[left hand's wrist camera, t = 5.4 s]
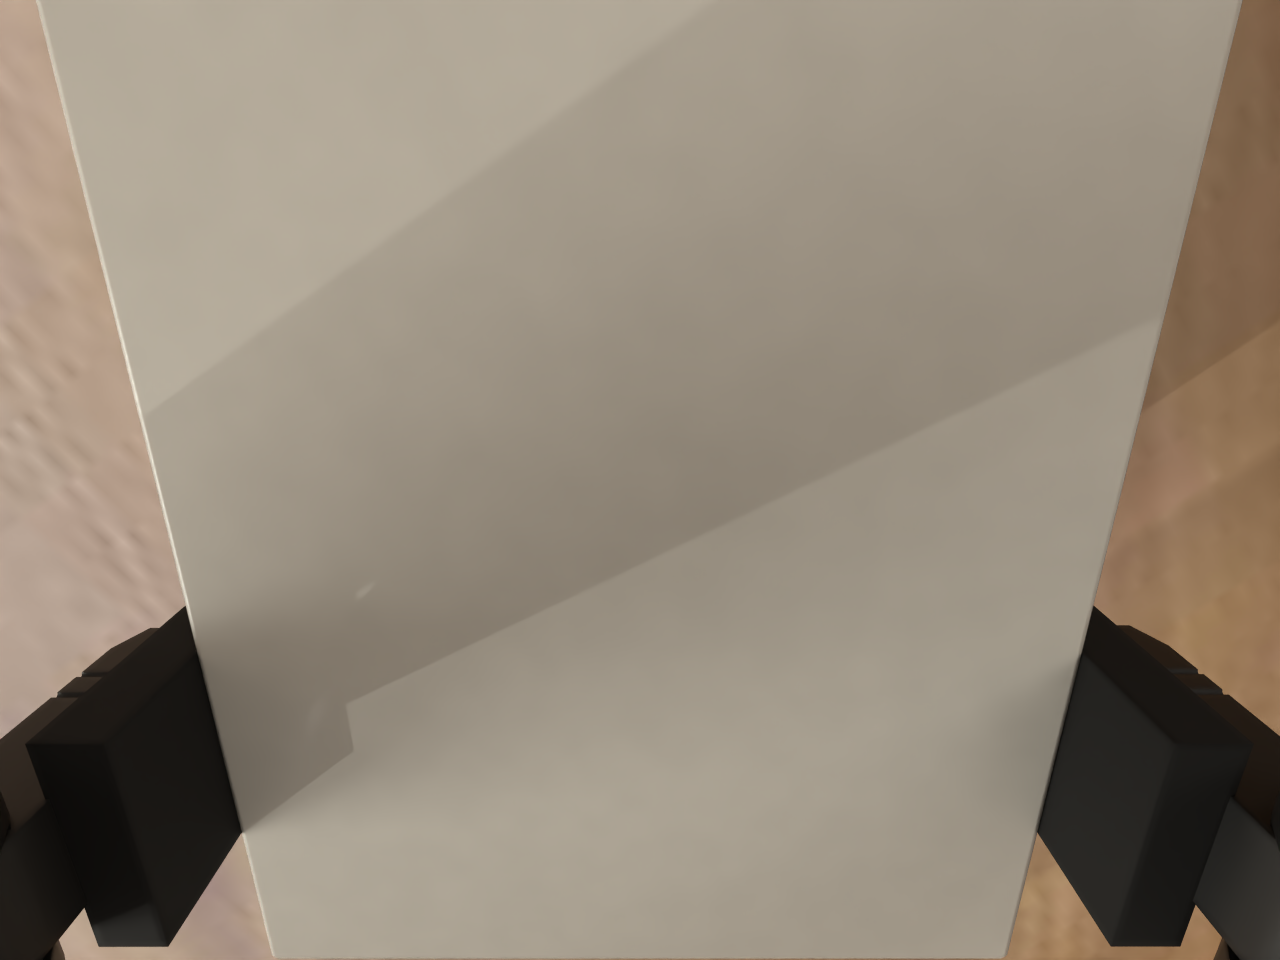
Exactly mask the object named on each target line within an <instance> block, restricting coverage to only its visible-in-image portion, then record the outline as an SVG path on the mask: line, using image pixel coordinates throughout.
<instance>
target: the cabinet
mask: <svg viewBox="0 0 1280 960" xmlns="http://www.w3.org/2000/svg"><path fill="white" fill-rule="evenodd" d="M1242 1H1243V0H36V2H37V6H38V10H39V14H40V19H41V23H42V27H43V31H44V35H45V39H46V43H47V47H48V51H49V55H50V59H51V63H52V67H53V71H54V75H55V79H56V83H57V87H58V91H59V95H60V99H61V103H62V107H63V112H64V116H65V120H66V124H67V128H68V132H69V136H70V140H71V144H72V148H73V152H74V156H75V160H76V164H77V168H78V172H79V176H80V180H81V184H82V188H83V192H84V196H85V200H86V205H87V209H88V213H89V217H90V221H91V225H92V229H93V233H94V237H95V241H96V245H97V249H98V253H99V257H100V261H101V265H102V269H103V273H104V277H105V281H106V285H107V289H108V293H109V297H110V302H111V306H112V310H113V314H114V318H115V322H116V326H117V330H118V334H119V338H120V342H121V346H122V350H123V354H124V358H125V362H126V366H127V370H128V374H129V378H130V382H131V386H132V390H133V395H134V399H135V403H136V407H137V411H138V415H139V419H140V423H141V427H142V431H143V435H144V439H145V443H146V447H147V451H148V455H149V459H150V463H151V467H152V471H153V475H154V479H155V483H156V488H157V492H158V496H159V500H160V504H161V508H162V512H163V516H164V520H165V524H166V528H167V532H168V536H169V540H170V544H171V548H172V552H173V556H174V560H175V564H176V568H177V572H178V576H179V580H180V585H181V589H182V593H183V597H184V601H185V605H186V609H187V613H188V617H189V621H190V625H191V629H192V633H193V637H194V641H195V645H196V649H197V653H198V657H199V661H200V665H201V669H202V673H203V678H204V682H205V686H206V690H207V694H208V698H209V702H210V706H211V710H212V714H213V718H214V722H215V726H216V730H217V734H218V738H219V742H220V746H221V750H222V754H223V758H224V762H225V766H226V771H227V775H228V779H229V783H230V787H231V791H232V795H233V799H234V803H235V807H236V811H237V815H238V819H239V823H240V827H241V831H242V835H243V839H244V843H245V847H246V851H247V855H248V859H249V863H250V868H251V872H252V876H253V880H254V884H255V888H256V892H257V896H258V900H259V904H260V908H261V912H262V916H263V920H264V924H265V928H266V932H267V936H268V940H269V944H270V948H271V952H272V955H273V956H274V957H276V958H1003V957H1005V956H1006V955H1007V953H1008V949H1009V945H1010V941H1011V937H1012V933H1013V929H1014V924H1015V920H1016V916H1017V912H1018V908H1019V904H1020V900H1021V896H1022V892H1023V888H1024V884H1025V880H1026V876H1027V872H1028V868H1029V864H1030V860H1031V856H1032V852H1033V847H1034V843H1035V839H1036V835H1037V831H1038V827H1039V823H1040V819H1041V815H1042V811H1043V807H1044V803H1045V799H1046V795H1047V791H1048V787H1049V783H1050V779H1051V775H1052V771H1053V766H1054V762H1055V758H1056V754H1057V750H1058V746H1059V742H1060V738H1061V734H1062V730H1063V726H1064V722H1065V718H1066V714H1067V710H1068V706H1069V702H1070V698H1071V694H1072V689H1073V685H1074V681H1075V677H1076V673H1077V669H1078V665H1079V661H1080V657H1081V653H1082V649H1083V645H1084V641H1085V637H1086V633H1087V629H1088V625H1089V621H1090V617H1091V612H1092V608H1093V604H1094V600H1095V596H1096V592H1097V588H1098V584H1099V580H1100V576H1101V572H1102V568H1103V564H1104V560H1105V556H1106V552H1107V548H1108V544H1109V540H1110V536H1111V531H1112V527H1113V523H1114V519H1115V515H1116V511H1117V507H1118V503H1119V499H1120V495H1121V491H1122V487H1123V483H1124V479H1125V475H1126V471H1127V467H1128V463H1129V459H1130V454H1131V450H1132V446H1133V442H1134V438H1135V434H1136V430H1137V426H1138V422H1139V418H1140V414H1141V410H1142V406H1143V402H1144V398H1145V394H1146V390H1147V386H1148V382H1149V378H1150V373H1151V369H1152V365H1153V361H1154V357H1155V353H1156V349H1157V345H1158V341H1159V337H1160V333H1161V329H1162V325H1163V321H1164V317H1165V313H1166V309H1167V305H1168V301H1169V296H1170V292H1171V288H1172V284H1173V280H1174V276H1175V272H1176V268H1177V264H1178V260H1179V256H1180V252H1181V248H1182V244H1183V240H1184V236H1185V232H1186V228H1187V224H1188V220H1189V215H1190V211H1191V207H1192V203H1193V199H1194V195H1195V191H1196V187H1197V183H1198V179H1199V175H1200V171H1201V167H1202V163H1203V159H1204V155H1205V151H1206V147H1207V143H1208V138H1209V134H1210V130H1211V126H1212V122H1213V118H1214V114H1215V110H1216V106H1217V102H1218V98H1219V94H1220V90H1221V86H1222V82H1223V78H1224V74H1225V70H1226V66H1227V61H1228V57H1229V53H1230V49H1231V45H1232V41H1233V37H1234V33H1235V29H1236V25H1237V21H1238V17H1239V13H1240V9H1241V5H1242Z"/></svg>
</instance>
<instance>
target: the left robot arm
mask: <svg viewBox="0 0 1280 960" xmlns="http://www.w3.org/2000/svg"><path fill="white" fill-rule="evenodd" d="M1037 832H1038V834H1039V835H1040V837H1041V839H1042V840H1043V842H1044V843H1045V845H1046V846H1047V848H1048V849H1049V851H1050V853H1051V854H1052V856H1053V857H1054V859H1055V860H1056V862H1057V863H1058V865H1059V867H1060V868H1061V870H1062V871H1063V873H1064V874H1065V876H1066V877H1067V879H1068V881H1069V882H1070V884H1071V885H1072V887H1073V888H1074V890H1075V891H1076V893H1077V895H1078V896H1079V898H1080V899H1081V901H1082V902H1083V904H1084V905H1085V907H1086V909H1087V910H1088V912H1089V913H1090V915H1091V916H1092V918H1093V919H1094V921H1095V922H1096V924H1097V926H1098V927H1099V929H1100V930H1101V932H1102V933H1103V935H1104V936H1105V938H1106V940H1107V941H1108V943H1109V944H1110V946H1181V943H1182V940H1183V938H1184V935H1185V932H1186V929H1187V927H1188V924H1189V921H1190V918H1191V916H1192V913H1193V910H1194V907H1195V905H1197V907H1198V908H1199V909H1200V910H1201V912H1202V913H1203V914H1204V915H1205V917H1206V918H1207V919H1208V920H1209V922H1210V923H1211V924H1212V925H1213V927H1214V928H1215V929H1216V930H1217V932H1218V933H1219V934H1220V935H1221V937H1222V940H1221V942H1220V945H1219V947H1218V950H1217V952H1216V955H1215V957H1214V960H1280V736H1279V735H1278V734H1276V733H1275V732H1274V731H1273V730H1271V729H1270V728H1269V727H1268V726H1267V725H1265V724H1264V723H1263V722H1262V721H1260V720H1259V719H1258V718H1257V717H1255V716H1254V715H1253V714H1252V713H1251V712H1249V711H1248V710H1247V709H1246V708H1244V707H1243V706H1242V705H1241V704H1240V703H1238V702H1237V701H1236V700H1235V699H1233V698H1232V697H1231V696H1230V695H1223V693H1222V689H1221V688H1220V687H1219V686H1217V685H1216V684H1215V683H1214V682H1213V681H1211V680H1210V679H1209V678H1208V677H1206V676H1205V675H1204V674H1198V669H1197V668H1195V667H1194V666H1193V665H1192V664H1190V663H1189V662H1188V661H1187V660H1186V659H1184V658H1183V657H1182V656H1181V655H1179V654H1178V653H1177V652H1176V651H1174V650H1173V649H1172V648H1171V647H1170V646H1168V645H1166V644H1164V643H1162V642H1160V641H1159V640H1157V639H1155V638H1153V637H1151V636H1149V635H1147V634H1145V633H1143V632H1141V631H1139V630H1137V629H1135V628H1133V627H1131V626H1129V625H1115V624H1114V623H1113V622H1112V621H1111V620H1110V619H1109V618H1107V617H1106V616H1105V615H1104V614H1103V613H1102V612H1100V611H1099V610H1098V609H1097V608H1096V607H1095V606H1093V608H1092V612H1091V617H1090V621H1089V625H1088V629H1087V633H1086V637H1085V641H1084V645H1083V649H1082V653H1081V657H1080V661H1079V665H1078V669H1077V673H1076V677H1075V681H1074V685H1073V689H1072V694H1071V698H1070V702H1069V706H1068V710H1067V714H1066V718H1065V722H1064V726H1063V730H1062V734H1061V738H1060V742H1059V746H1058V750H1057V754H1056V758H1055V762H1054V766H1053V771H1052V775H1051V779H1050V783H1049V787H1048V791H1047V795H1046V799H1045V803H1044V807H1043V811H1042V815H1041V819H1040V823H1039V827H1038V831H1037ZM241 833H242V831H241V827H240V823H239V819H238V815H237V811H236V807H235V803H234V799H233V795H232V791H231V787H230V783H229V779H228V775H227V771H226V766H225V762H224V758H223V754H222V750H221V746H220V742H219V738H218V734H217V730H216V726H215V722H214V718H213V714H212V710H211V706H210V702H209V698H208V694H207V690H206V686H205V682H204V678H203V673H202V669H201V665H200V661H199V657H198V653H197V649H196V645H195V641H194V637H193V633H192V629H191V625H190V621H189V617H188V613H187V609H186V606H185V607H183V608H182V609H181V610H180V611H179V612H178V613H176V614H175V615H174V616H173V617H172V618H171V619H169V620H168V621H167V622H166V623H165V624H164V625H163V626H161V627H160V628H150V629H148V630H146V631H144V632H142V633H140V634H138V635H136V636H134V637H132V638H130V639H128V640H126V641H124V642H123V643H121V644H119V645H117V646H115V647H113V648H111V649H110V650H109V651H107V652H106V653H105V654H104V655H103V656H101V657H100V658H99V659H98V660H96V661H95V662H94V663H93V664H92V665H90V666H89V667H88V668H87V669H86V670H84V671H83V672H82V676H81V677H76V678H75V679H73V680H72V681H71V682H70V683H68V684H67V685H66V686H65V687H64V688H62V689H61V690H60V691H59V692H58V695H57V697H56V698H50V699H49V700H48V701H47V702H45V703H44V704H43V705H42V706H40V707H39V708H38V709H37V710H36V711H34V712H33V713H32V714H31V715H29V716H28V717H27V718H26V719H25V720H23V721H22V722H21V723H20V724H19V725H17V726H16V727H15V728H14V729H12V730H11V731H10V732H9V733H8V734H6V735H5V736H4V737H3V738H1V739H0V960H65V956H64V952H63V950H62V947H61V945H60V942H59V939H60V937H61V936H62V935H63V934H64V932H65V931H66V930H67V929H68V927H69V926H70V925H71V924H72V922H73V921H74V920H75V919H76V917H77V916H78V915H79V914H80V912H81V911H82V910H83V909H84V908H85V910H86V913H87V916H88V918H89V921H90V924H91V927H92V929H93V932H94V935H95V938H96V940H97V943H98V946H99V947H168V946H169V945H170V943H171V941H172V940H173V938H174V937H175V935H176V934H177V932H178V931H179V929H180V927H181V926H182V924H183V923H184V921H185V920H186V918H187V917H188V915H189V913H190V912H191V910H192V909H193V907H194V906H195V904H196V903H197V901H198V900H199V898H200V896H201V895H202V893H203V892H204V890H205V889H206V887H207V886H208V884H209V882H210V881H211V879H212V878H213V876H214V875H215V873H216V872H217V870H218V868H219V867H220V865H221V864H222V862H223V861H224V859H225V858H226V856H227V854H228V853H229V851H230V850H231V848H232V847H233V845H234V844H235V842H236V840H237V839H238V837H239V836H240V834H241Z"/></svg>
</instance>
